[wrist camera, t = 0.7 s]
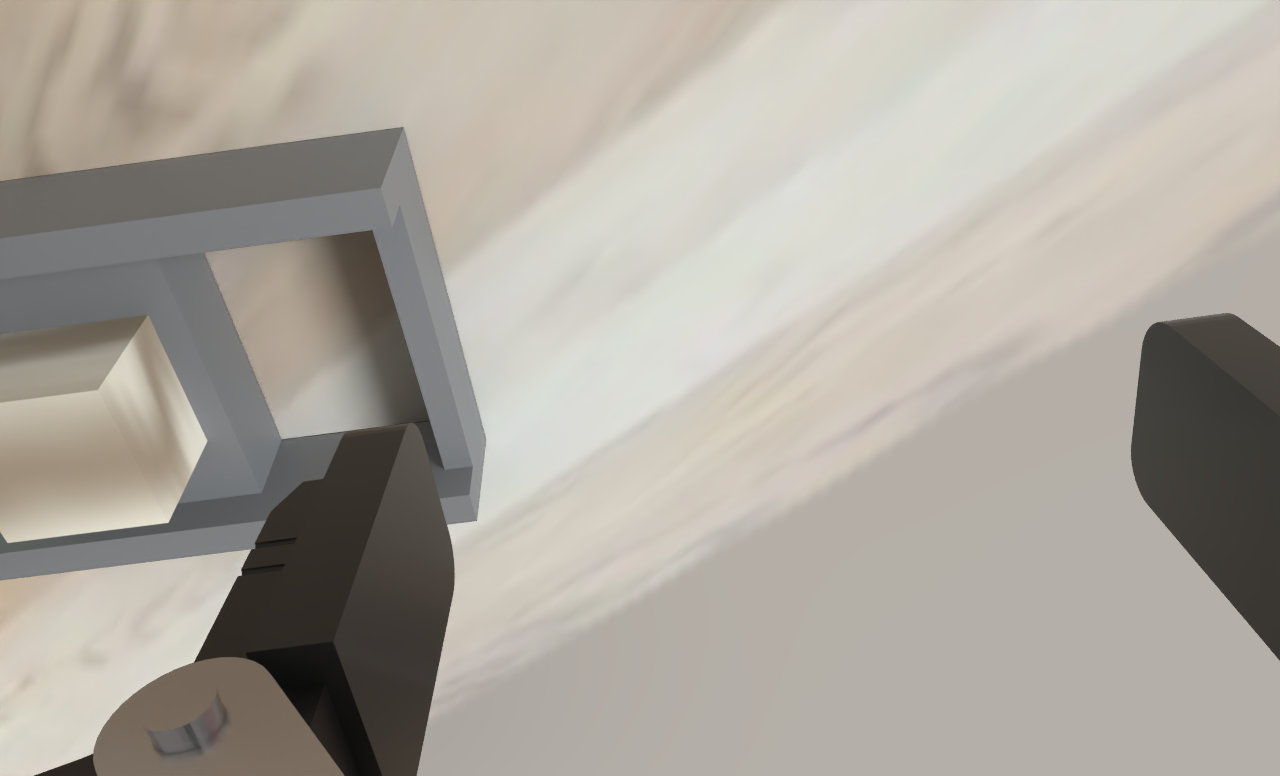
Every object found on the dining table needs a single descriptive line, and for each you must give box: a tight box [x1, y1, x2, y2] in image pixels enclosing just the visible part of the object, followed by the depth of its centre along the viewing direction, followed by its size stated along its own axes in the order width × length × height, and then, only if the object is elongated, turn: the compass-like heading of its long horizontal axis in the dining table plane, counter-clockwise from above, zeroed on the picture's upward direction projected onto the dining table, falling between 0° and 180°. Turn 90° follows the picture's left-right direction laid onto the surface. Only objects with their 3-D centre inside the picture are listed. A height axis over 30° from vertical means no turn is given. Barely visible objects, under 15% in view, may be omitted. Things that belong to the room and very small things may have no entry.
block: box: [0, 315, 207, 543], centre depth 31 cm, size 5×5×4 cm
